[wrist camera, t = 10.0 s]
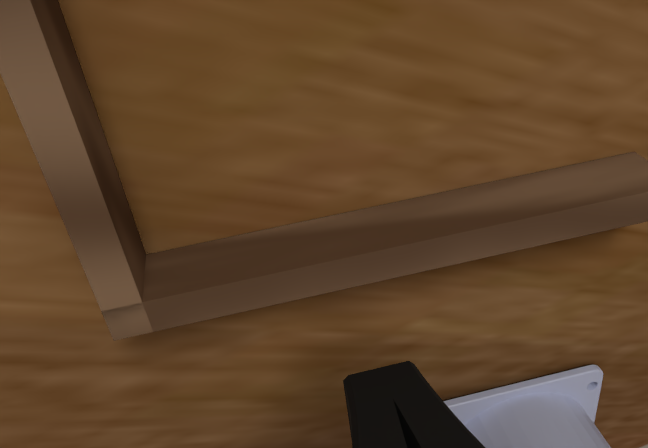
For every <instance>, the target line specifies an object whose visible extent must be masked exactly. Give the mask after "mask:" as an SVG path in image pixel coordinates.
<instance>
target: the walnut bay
mask: <svg viewBox="0 0 648 448" xmlns="http://www.w3.org/2000/svg"><path fill="white" fill-rule="evenodd" d="M0 73H1V76H2V78H3V81H4V83H5V85H6V88H7V90H8V92H9V95H10V97H11V99H12V102H13V104H14V106H15V109H16V111H17V114H18V116H19V118H20V121H21V123H22V125H23V128H24V130H25V132H26V135H27V137H28V139H29V142H30V144H31V147H32V149H33V151H34V154H35V156H36V158H37V161H38V163H39V165H40V168H41V170H42V172H43V175H44V177H45V180H46V182H47V184H48V187H49V189H50V191H51V194H52V196H53V198H54V201H55V203H56V206H57V208H58V210H59V213H60V215H61V217H62V220H63V222H64V224H65V227H66V229H67V231H68V234H69V236H70V239H71V241H72V243H73V246H74V248H75V250H76V253H77V255H78V257H79V260H80V262H81V264H82V267H83V269H84V272H85V274H86V276H87V279H88V281H89V283H90V286H91V288H92V290H93V293H94V295H95V297H96V300H97V302H98V305H99V307H100V309H101V312H102V314H103V316H104V319H105V321H106V323H107V326H108V328H109V330H110V333H111V335H112V338H113V340H114V341H115V340H119V339H124V338H128V337H133V336H137V335H142V334H146V333H150V332H155V331H159V330H164V329H168V328H173V327H177V326H182V325H186V324H191V323H195V322H200V321H204V320H209V319H213V318H218V317H222V316H226V315H231V314H235V313H240V312H244V311H249V310H253V309H258V308H262V307H267V306H271V305H276V304H280V303H285V302H289V301H294V300H298V299H302V298H307V297H311V296H316V295H320V294H325V293H329V292H334V291H338V290H343V289H347V288H352V287H356V286H361V285H365V284H370V283H374V282H378V281H383V280H387V279H392V278H396V277H401V276H405V275H410V274H414V273H419V272H423V271H428V270H432V269H437V268H441V267H446V266H450V265H454V264H459V263H463V262H468V261H472V260H477V259H481V258H486V257H490V256H495V255H499V254H504V253H508V252H513V251H517V250H522V249H526V248H530V247H535V246H539V245H544V244H548V243H553V242H557V241H562V240H566V239H571V238H575V237H580V236H584V235H589V234H593V233H598V232H602V231H606V230H611V229H615V228H620V227H624V226H629V225H633V224H638V223H642V222H647V221H648V161H647V160H646V159H645V158H643V157H642V156H640V155H639V154H637V153H636V152H631V153H626V154H622V155H617V156H612V157H607V158H603V159H598V160H593V161H588V162H584V163H579V164H574V165H569V166H565V167H560V168H555V169H550V170H546V171H541V172H536V173H531V174H527V175H522V176H517V177H512V178H508V179H503V180H498V181H493V182H489V183H484V184H479V185H475V186H470V187H465V188H460V189H456V190H451V191H446V192H441V193H437V194H432V195H427V196H422V197H418V198H413V199H408V200H403V201H399V202H394V203H389V204H384V205H380V206H375V207H370V208H365V209H361V210H356V211H351V212H346V213H342V214H337V215H332V216H327V217H323V218H318V219H313V220H308V221H304V222H299V223H294V224H289V225H285V226H280V227H275V228H270V229H266V230H261V231H256V232H252V233H247V234H242V235H237V236H233V237H228V238H223V239H218V240H214V241H209V242H204V243H199V244H195V245H190V246H185V247H180V248H176V249H171V250H166V251H161V252H157V253H152V254H147V255H146V253H145V250H144V248H143V245H142V242H141V239H140V236H139V233H138V230H137V227H136V225H135V222H134V219H133V216H132V213H131V210H130V207H129V204H128V202H127V199H126V196H125V193H124V190H123V187H122V184H121V181H120V178H119V176H118V173H117V170H116V167H115V164H114V161H113V158H112V155H111V153H110V150H109V147H108V144H107V141H106V138H105V135H104V132H103V130H102V127H101V124H100V121H99V118H98V115H97V112H96V109H95V107H94V104H93V101H92V98H91V95H90V92H89V89H88V86H87V83H86V81H85V78H84V75H83V72H82V69H81V66H80V63H79V60H78V58H77V55H76V52H75V49H74V46H73V43H72V40H71V37H70V35H69V32H68V29H67V26H66V23H65V20H64V17H63V14H62V12H61V9H60V6H59V3H58V0H0Z"/></svg>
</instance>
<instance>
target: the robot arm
mask: <svg viewBox="0 0 648 448" xmlns="http://www.w3.org/2000/svg"><path fill="white" fill-rule="evenodd" d="M602 379H603V372H602V370H601V369H600V368H599V367H598V366H597V365H588V366H584V367H580V368H576V369H572V370H568V371H564V372H560V373H556V374H551V375H547V376H543V377H539V378H535V379H531V380H527V381H523V382H519V383H515V384H511V385H507V386H503V387H499V388H495V389H491V390H487V391H483V392H479V393H474V394H470V395H466V396H462V397H458V398H454V399H450V400H446V401H442V399H441V398H440V397H439V396H438V395H437V393H436V392H435V391H434V390H433V388H432V387H431V386H430V385H429V383H428V382H427V381H426V380H425V378H424V377H423V376H422V374H421V373H420V372H419V370H418V369H417V367H416V366H415V365H414V364H413V363H411V362H410V361H406V362H402V363H398V364H393V365H389V366H385V367H381V368H377V369H373V370H368V371H364V372H360V373H356V374H352V375H348V376H347V377H346V378H345V379H344V380H343V383H344V390H345V396H346V403H347V410H348V417H349V424H350V430H351V437H352V448H611V447H610V446H609V444H608V443H607V441H606V440H605V439H604V437H603V436H602V434H601V433H600V432H599V430H598V429H597V427H596V426H595V424H594V421H595V416H596V411H597V405H598V400H599V395H600V390H601V384H602Z"/></svg>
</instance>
